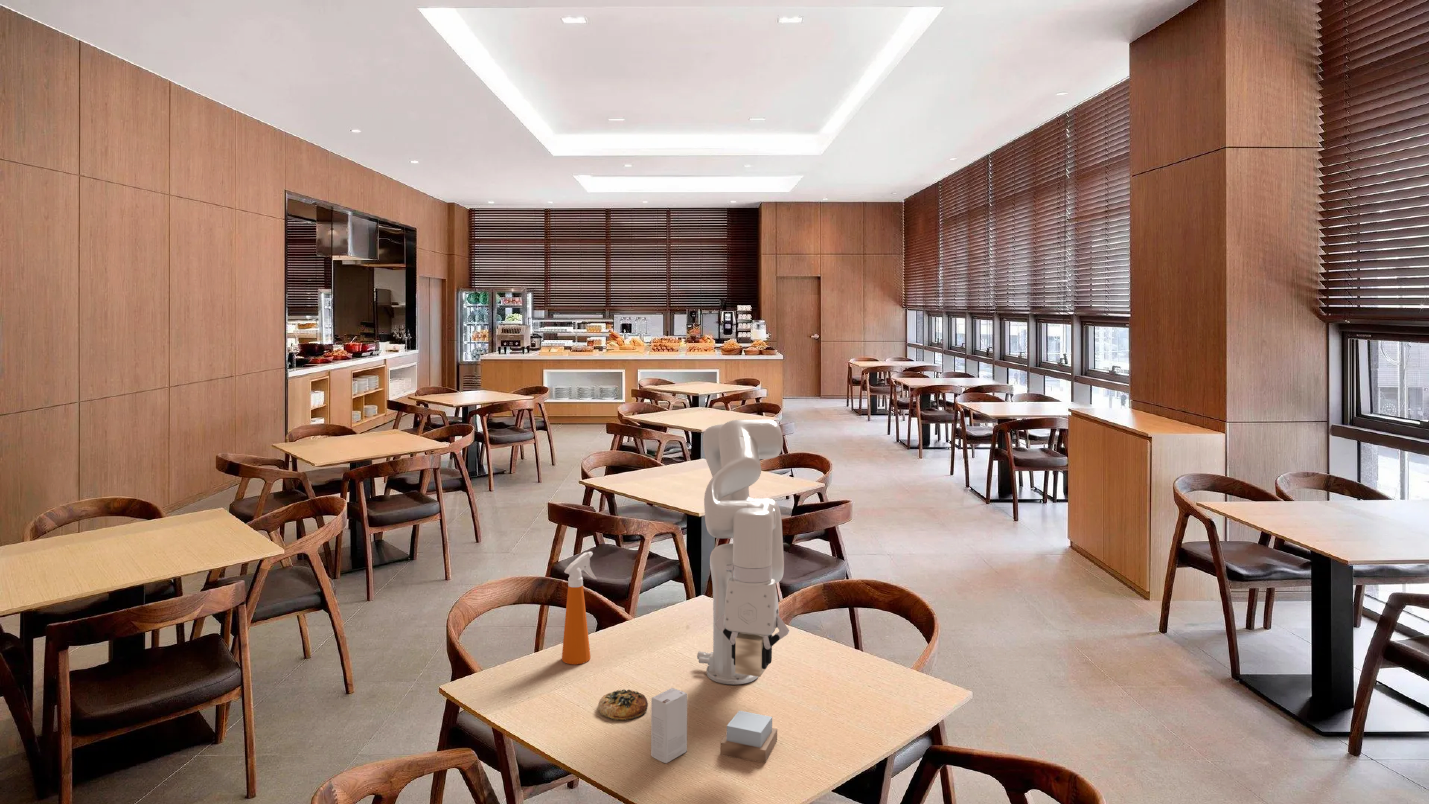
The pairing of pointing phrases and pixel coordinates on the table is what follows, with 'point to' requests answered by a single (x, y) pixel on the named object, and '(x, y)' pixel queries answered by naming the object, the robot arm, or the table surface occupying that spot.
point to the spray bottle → (576, 613)
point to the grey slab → (749, 729)
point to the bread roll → (623, 705)
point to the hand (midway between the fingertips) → (751, 663)
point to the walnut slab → (749, 749)
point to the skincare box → (668, 725)
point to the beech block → (749, 654)
